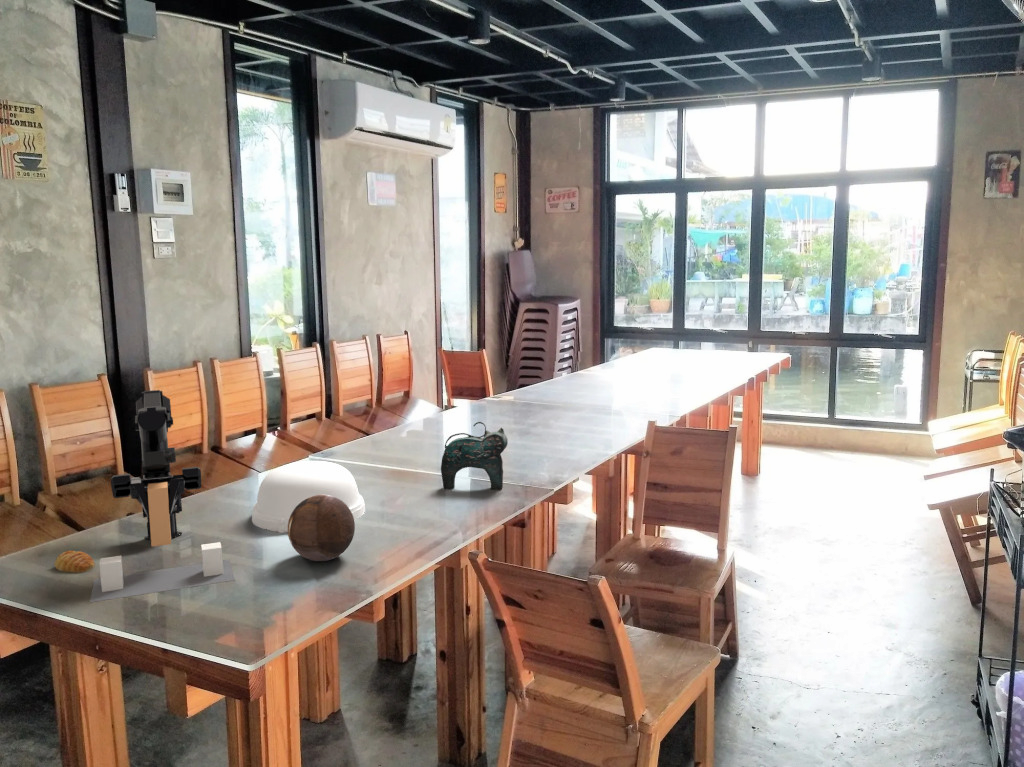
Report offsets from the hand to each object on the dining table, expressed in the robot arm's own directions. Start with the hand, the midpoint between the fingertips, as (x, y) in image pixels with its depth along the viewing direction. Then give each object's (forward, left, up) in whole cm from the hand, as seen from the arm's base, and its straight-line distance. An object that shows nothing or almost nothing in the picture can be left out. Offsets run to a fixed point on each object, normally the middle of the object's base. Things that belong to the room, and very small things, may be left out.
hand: (159, 514), depth 189 cm
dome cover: (-47, +5, -13) cm, 49 cm away
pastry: (+5, -21, -13) cm, 25 cm away
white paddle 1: (+12, -2, -12) cm, 18 cm away
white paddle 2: (-2, +12, -12) cm, 18 cm away
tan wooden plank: (-1, -1, -7) cm, 7 cm away
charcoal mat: (+5, +5, -13) cm, 15 cm away
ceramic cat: (-85, +37, -13) cm, 94 cm away
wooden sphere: (-18, +30, -13) cm, 37 cm away
